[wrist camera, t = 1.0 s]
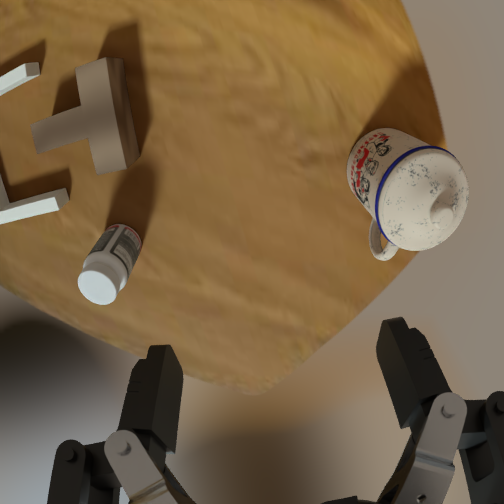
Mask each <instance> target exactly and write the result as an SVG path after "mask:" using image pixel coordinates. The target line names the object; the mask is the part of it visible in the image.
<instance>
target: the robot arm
mask: <svg viewBox="0 0 504 504" xmlns="http://www.w3.org/2000/svg"><path fill="white" fill-rule="evenodd" d="M376 353H377V359H378V362H379V365H380V367H381V370H382V373H383V376H384V379H385V382H386V385H387V388H388V391H389V394H390V397H391V399H392V402H393V406H394V409H395V412H396V415H397V418H398V421H399V425H400V428H401V429H402V428H406V427H409V426H410V429H411V432H412V433H411V435H410V437H409V440H408V442H407V444H406V447H405V449H404V451H403V454H402V456H401V458H400V460H399V462H398V465H397V467H396V469H395V471H394V473H393V475H392V476H391V478H390V479H389V481H388V483H387V484H386V486H385V487H384V489H383V491H382V493H381V494H380V496H379V498H378V500H377V502H372V501H368V500H358V499H357V496H352V497H348V498H343V499H338V500H332V501H327V502H324V503H322V504H442V503H443V501H444V498H445V496H446V493H447V491H448V488H449V486H450V483H451V480H452V478H453V475H454V471H455V466H454V465H453V459H454V456H455V453H456V450H457V449H459V453H460V456H461V460H462V464H463V468H464V472H465V476H466V481H467V485H468V490H469V494H470V499H471V504H504V392H503V391H497V392H494V393H492V394H491V395H490V396H489V397H488V398H487V400H464V399H462V397H460V396H459V395H457V394H455V393H453V392H452V391H451V390H450V388H449V386H448V383H447V381H446V379H445V377H444V375H443V373H442V370H441V368H440V366H439V364H438V362H437V360H436V358H435V357H434V354H433V351H432V349H430V345H429V343H428V341H427V339H426V338H425V336H424V335H423V334H422V333H421V332H420V331H419V330H417V329H416V328H411V329H409V328H408V326H407V324H406V322H405V320H404V319H403V317H398V318H392V319H387V320H383V322H382V324H381V329H380V333H379V337H378V341H377V346H376ZM182 388H183V371H182V368H181V365H180V363H179V361H178V359H177V357H176V355H175V353H174V351H173V349H172V347H171V345H151V346H150V347H149V350H148V354H147V358H146V359H139V361H138V362H137V363H136V365H135V366H134V368H133V369H132V372H131V376H130V380H129V384H128V388H127V393H126V396H125V400H124V405H123V409H122V413H121V418H120V422H119V426H118V429H117V431H116V432H114V433H112V434H111V435H110V436H109V437H108V439H107V440H106V441H103V442H99V443H94V444H89V445H82V444H81V443H80V442H78V441H76V440H66V441H64V442H63V443H61V444H60V445H59V447H58V449H57V451H56V455H55V460H54V465H53V470H52V476H51V482H50V488H49V494H48V501H47V504H119V495H120V487H123V488H124V490H125V492H126V494H127V495H128V497H129V500H130V501H129V503H128V504H197V503H196V502H195V501H194V500H193V499H192V498H191V497H190V496H189V495H188V493H187V492H186V491H185V490H184V488H183V487H182V486H181V484H180V483H179V482H178V480H177V479H176V477H175V476H174V475H173V473H172V472H171V471H170V469H169V468H168V466H167V465H166V463H165V458H166V454H175V450H176V440H177V430H178V421H179V411H180V403H181V396H182Z"/></svg>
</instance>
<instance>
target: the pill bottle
mask: <svg viewBox="0 0 504 504" xmlns="http://www.w3.org/2000/svg"><path fill="white" fill-rule="evenodd" d="M140 251H141V240H140V238H139V236H138V234H137V233H136V232H135V231H134V230H133V229H132V228H130V227H128V226H126V225H123V224H115V225H112V226H110V227H108V228H107V229H106V230H105V232H104V233H103V234H102V236H101V237H100V239H99V240H98V241H97V243H96V244H95V246H94V247H93V249H92V250H91V252H90V253H89V254H88V256H87V258H86V259H85V261H84V265H83V270H82V272H81V274H80V275H79V278H78V286H79V289H80V291H81V292H82V294H83V295H84V296H85V297H86V298H87V299H88V300H90V301H92V302H94V303H96V304H101V305H106V304H109V303H111V302H113V301H114V300H115V298H116V296H117V294H118V292H119V291H120V290H121V289H122V288H123V287H124V286H125V284H126V282H127V280H128V278H129V276H130V273H131V271H132V269H133V266H134V264H135V263H136V260H137V258H138V256H139V254H140Z"/></svg>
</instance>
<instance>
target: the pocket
mask: <svg viewBox="0 0 504 504" xmlns="http://www.w3.org/2000/svg"><path fill="white" fill-rule="evenodd" d="M39 75H40V70H39V62H34V63H25V64H23V65H21V66H19V67H17V68H15V69H14V70H12V71H10V72H8V73H7V74H5V75H3V76H2V77H0V96H1V95H2V94H4V93H6V92H8V91H10V90H11V89H13V88H15V87H17V86H19V85H21V84H23V83H25V82H27V81H29V80H31V79H33V78H35V77H37V76H39ZM68 201H69V197H68V194H67V191H66V188H63V189H59V190H55V191H51V192H48V193H44V194H40V195H37V196H33V197H29V198H26V199H23V200H19V201H16V202H13V203H10V202H9V200H8V197H7V194H6V191H5V188H4V184H3V181H2V178H1V175H0V224H3V223H7V222H11V221H15V220H19V219H23V218H27V217H31V216H35V215H39V214H44V213H48V212H52V211H57V210H60V209H61V208H62V207H63V206H64V205H65V204H66V203H67V202H68Z"/></svg>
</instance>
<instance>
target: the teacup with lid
mask: <svg viewBox="0 0 504 504" xmlns="http://www.w3.org/2000/svg"><path fill="white" fill-rule="evenodd" d="M347 178H348V182H349V185H350V188H351V190H352V192H353V193H354V195H355V196H356V197H357V198H358V199H359V201H360V202H361V203H362V204H363V205H364V207H365V208H366V209H367V210H368V212H369V213H370V214H371V215H372V217H373V219H372V222H371V225H370V230H369V244H370V249H371V251H372V254H373V255H374V257H376V258H377V259H379V260H389V259H390V258H392V257H393V256H394V255H395V253H396V252H397V250H398V248H399V247H400V248H402V249H405V250H411V251H420V250H426V249H429V248H432V247H434V246H436V245H438V244H440V243H441V242H443V241H444V240H445V239H447V238H448V237H449V236H450V235H451V234H452V233H453V232H454V231H455V229H456V228H457V227H458V225H459V223H460V222H461V220H462V218H463V216H464V213H465V211H466V207H467V203H468V196H469V189H468V181H467V177H466V174H465V171H464V169H463V167H462V166H461V164H460V163H459V161H458V160H457V159H456V157H455V156H454V155H452V154H451V153H450V152H449V151H447V150H445V149H443V148H440V147H437V146H431V145H429V144H427V143H425V142H423V141H421V140H419V139H417V138H415V137H413V136H410V135H408V134H406V133H404V132H402V131H399V130H397V129H392V128H381V129H377V130H374V131H371V132H369V133H368V134H366V135H365V136H363V137H362V138H361V139H360V140H359V141H358V142H357V143H356V145H355V146H354V148H353V149H352V151H351V153H350V156H349V159H348V164H347ZM381 232H382V234H383V235H384V237H385V238H386V239H387V240H388V242H387V244H386V246H385V248H384V249H382V246H381V241H380V234H381Z"/></svg>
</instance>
